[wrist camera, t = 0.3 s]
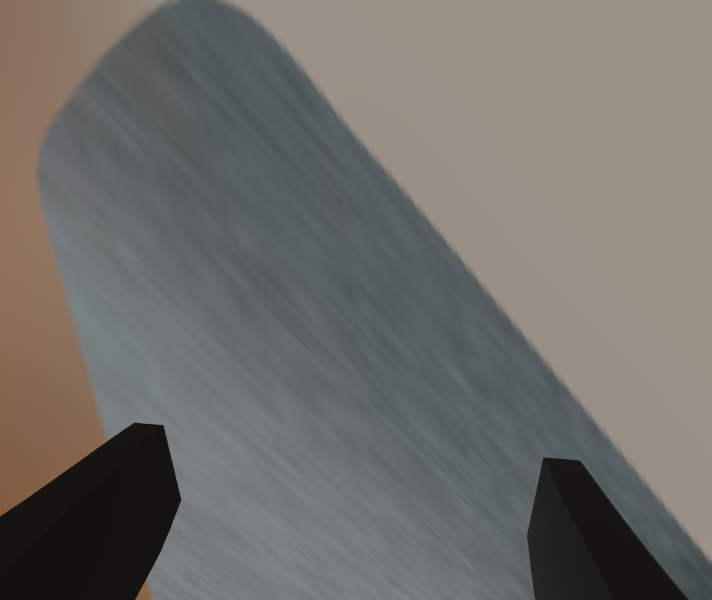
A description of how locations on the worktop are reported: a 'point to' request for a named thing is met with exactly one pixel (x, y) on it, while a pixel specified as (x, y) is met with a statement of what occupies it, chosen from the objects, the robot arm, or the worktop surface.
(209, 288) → the worktop surface
